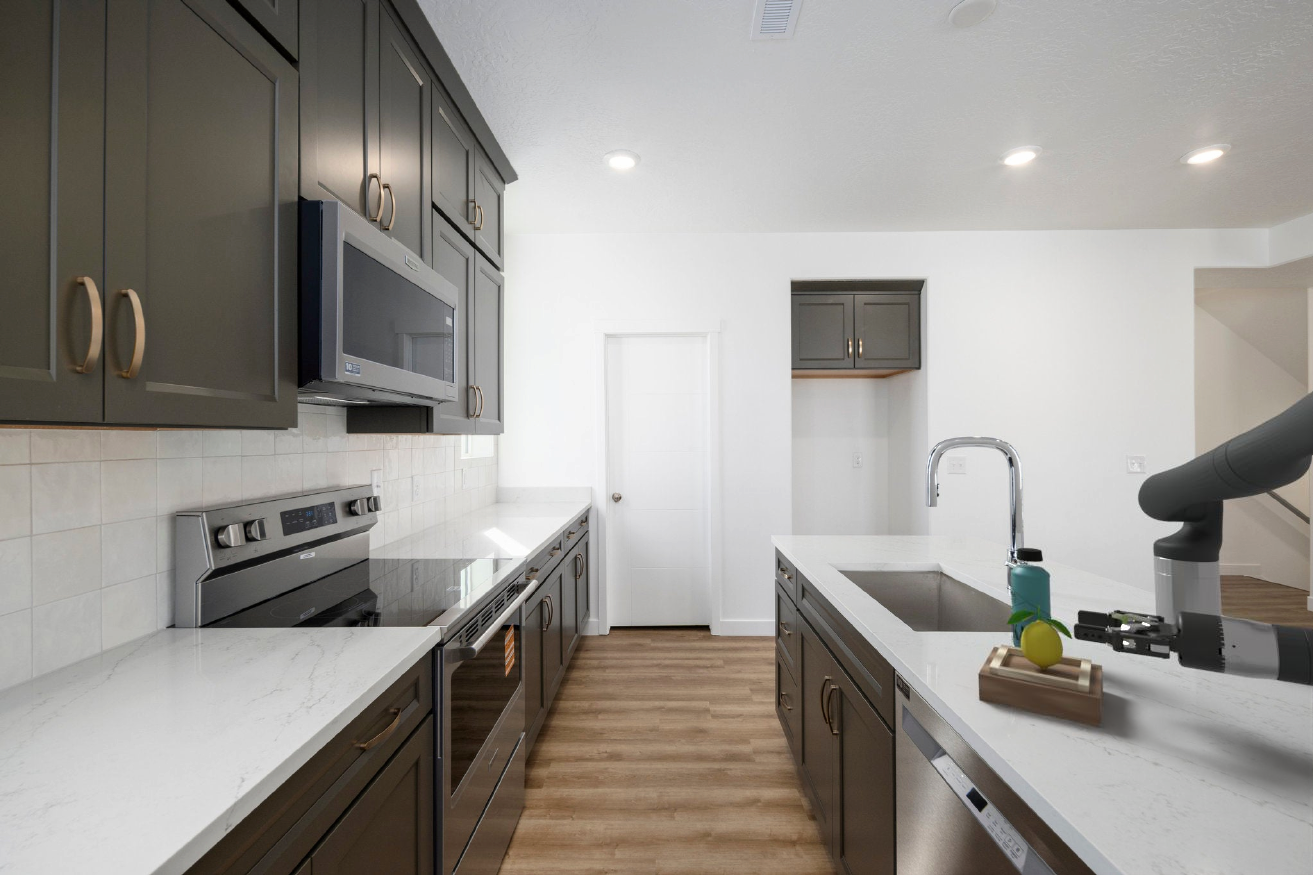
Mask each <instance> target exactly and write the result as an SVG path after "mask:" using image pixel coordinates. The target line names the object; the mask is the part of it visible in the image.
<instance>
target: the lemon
mask: <svg viewBox="0 0 1313 875" xmlns="http://www.w3.org/2000/svg"><path fill="white" fill-rule="evenodd" d="M1037 612H1038V616H1039V620H1037V621H1036V622H1032V623H1030V624H1029V625H1027V626H1026V628H1025V629H1024V631H1023V633H1022V637H1021V649H1022V652H1023V654H1024V656H1025V657H1026V658H1027V660H1028V661H1030V662H1031V663H1034V664H1036V665H1038V666H1039V667H1040V668H1041V669H1042V670H1046V669H1047V668H1048V667H1050V666H1054V665H1056V664H1058V663H1059V662H1060V660H1061V658H1062V655H1064V647H1063V642H1062V638H1061V636H1060V634H1059V632H1060V633H1062V635H1064V636H1066V637H1067V638H1069V639H1071V640H1073V637H1072V634H1071V632H1070V630H1069V629H1068V628H1067V626H1065V625H1064V624H1063V623H1062V622H1061V621H1059V620H1058V619H1057V620H1056V619H1054V618H1053V619H1052V618H1051V619H1046V618H1044V617H1042V616H1041V615H1040V606H1038V611H1037ZM1037 612H1031V611H1027V610H1022V611H1017V612H1016V613H1014V614H1013V615H1012V614H1011V616H1010V617H1009V618H1008V620H1007V622H1006V625H1012V624H1016V623H1019V622H1021V621H1023V620H1026V619H1028V618H1030V617H1031V616H1033V615H1034V614H1035V613H1037ZM1040 616H1041V617H1042V618H1044V619H1045V620H1046V621H1047V622H1048V623H1050V624H1051V625H1052V626H1051V625H1050V624H1048V623H1044V622H1043V621H1042V620H1041V618H1040ZM1057 630H1058V631H1059V632H1058V631H1057Z"/></svg>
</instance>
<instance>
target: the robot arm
mask: <svg viewBox="0 0 1313 875" xmlns="http://www.w3.org/2000/svg"><path fill="white" fill-rule="evenodd" d="M1312 459H1313V390H1312V391H1311V392H1309V393H1308V394H1306V395H1305V396H1304V397H1302V398H1301V399H1300V400H1298V401H1297V402H1295V403H1293V404H1292V405H1291V406H1289V407H1288V408H1287V409H1285V410H1284V411H1282V412H1280V413H1279V414H1277V415H1276V416H1273V417H1272V418H1270V419H1268V420H1266V421H1264V422H1262V423H1261V424H1259V425H1257V426H1255V427H1254V428H1251V429H1249V430H1247V431H1246V432H1243V433H1241V434H1238V435H1237V436H1235V437H1233V438H1230V439H1229V440H1227V441H1225V442H1223V443H1222V444H1220V445H1217V446H1216V447H1215V448H1213V449H1211V450H1209V451H1207V452H1204V453H1203V454H1200V455H1199V456H1197V457H1195V458H1193V459H1191V460H1189V461H1188V462H1186V463H1184V464H1180V465H1178V466H1175V467H1172V468H1170V469H1167V470H1165V471H1161V472H1158V473H1155V474H1152V475H1151V476H1149V477H1147V478H1146V479H1144V481H1143V483H1141V486H1140V488H1139V490H1138V494H1137V501H1138V505H1139V507H1140V510H1142V512H1143V513H1144V514H1145V515H1147V517H1149V518H1151V519H1153V520H1156V521H1160V522H1169V523H1183V524H1182V527H1181V528H1180V529H1179V530H1178V531H1176V532H1175V533H1173V534H1170V535H1168V536H1167V535H1166V536H1164V537H1161V538H1158V539H1156V540H1155V541H1154V542H1153V545H1152V546H1153V547H1152V548H1153V552H1152V553H1153V570H1154V571H1153V572H1154V592H1155V593H1154V596H1155V599H1154V600H1155V615H1154V614H1146V613H1140V612H1139V613H1138V612H1131V611H1125V610H1120V609H1115V610H1113V611H1109V612H1099V611H1098V612H1097V611H1090V610H1083V609H1079V610H1078V611H1077V623H1074V625H1073V636H1074V639H1076V640H1078V641H1079V640H1080V641H1084V642H1092V643H1098V644H1104V645H1107V646H1108V647H1110V648H1111V649H1112V650H1113V652H1118V653H1125V654H1131V655H1137V656H1145V657H1151V658H1159V659H1163V660H1169V659H1171V654H1170V653H1171V652H1175V653H1176V655H1177V661H1178V664H1179V665H1180V666H1181V667H1182V668H1183V667H1184V668H1186V669H1187V668H1189V669H1194V670H1200V671H1207V672H1213V673H1219V674H1223V675H1228V676H1229V675H1230V676H1237V677H1242V678H1248V679H1256V680H1257V679H1259V680H1271V681H1272V680H1273V681H1280V682H1284V683H1285V682H1286V683H1292V684H1299V685H1303V686H1304V685H1305V686H1309V687H1310V686H1311V687H1313V629H1312V628H1307V627H1300V626H1291V625H1282V624H1273V623H1272V624H1271V623H1267V622H1261V621H1258V620H1257V621H1256V620H1253V619H1247V618H1240V617H1232V616H1224V615H1223V614H1222V613H1223V612H1222V595H1221V594H1222V593H1221V591H1222V590H1221V575H1220V551H1221V549H1222V546H1223V540H1224V538H1223V537H1224V536H1223V535H1224V534H1223V529H1224V527H1223V525H1224V501H1227V500H1235V499H1242V498H1248V497H1254V496H1258V495H1263V494H1266V493H1269V492H1271V491H1274V490H1277V489H1279V488H1280V489H1281V488H1283V487H1286V486H1288V485H1290V484H1292V483H1294V482H1296V481H1298V480H1300V479H1301V478H1302V477H1303V476H1305V475H1306V473H1307V472H1308V471H1309V470H1310V467H1311V464H1312V463H1313V462H1312V461H1313V460H1312Z"/></svg>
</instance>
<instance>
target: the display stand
mask: <svg viewBox="0 0 1313 875" xmlns="http://www.w3.org/2000/svg"><path fill="white" fill-rule="evenodd" d="M977 675H978V677H977V678H978V700H980V701H983V702H986V703H987V702H988V703H992V704H996V705H1001V706H1005V707H1010V708H1013V709H1017V710H1018V709H1019V710H1023V711H1028V712H1032V713H1035V714H1036V713H1037V714H1040V715H1044V716H1049V717H1054V718H1058V719H1062V720H1067V721H1070V722H1071V721H1072V722H1075V723H1081V724H1085V725H1088V726H1092V727H1098V728H1102V720H1103V719H1102V718H1103V717H1102V716H1103V715H1102V714H1103V698H1104V695H1103V694H1104V684H1103V682H1104V681H1103V665H1102V664H1096V663H1092V659H1088V658H1082V657H1077V656H1071V655H1065V654H1063V655H1062V658H1061V660H1060V662H1059V663H1058V664H1056V665H1054V666H1050V667H1048V668H1047V669H1046V670H1042V669H1041V668H1040V667H1039V666H1038V665H1036V664H1034V663H1031V662H1030V661H1028V660H1027V658H1026V657H1025V656H1024V654H1023V652H1022V649H1021V648H1019V647H1015V646H1014V645H1013V646H1012V645H1007V644H1001V645H1000V646H998V647H997V646H993V647H992V649H991V651H990V654H988V657H987V658H986V660H985V662H984V663H983V665H982V666H981V669H980V670H979V672H978V673H977Z"/></svg>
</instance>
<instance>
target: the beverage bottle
mask: <svg viewBox="0 0 1313 875" xmlns="http://www.w3.org/2000/svg"><path fill="white" fill-rule="evenodd" d="M1016 560H1018V561H1021V562H1029V563H1030V562H1031V563H1040V562H1041V563H1042V562H1044V557H1043V551H1042V549H1040V548H1039V549H1038V548H1033V547H1020V548H1017V550H1016ZM1010 575H1011V577H1010V578H1011V579H1010V580H1011V581H1010V587H1011V588H1010V595H1011V596H1010V601H1011V612H1010V614H1011V616H1012V615H1013V614H1014V613H1016V612H1017V611H1022V610H1027V611H1031V612H1037V611H1038V606H1040V615H1041V616H1042V617H1044V618H1046V619H1052V618H1053V617H1052V611H1051V610H1052V609H1051V606H1052V605H1051V578H1050V577H1051V574H1050V573H1049V571H1048V570H1046V569H1045V568H1044V567H1042V566H1040V565H1039V566H1038V565H1035V564H1034V565H1031V564H1018V565H1016V566H1015V567H1013V568H1012V569H1011V570H1010ZM1041 616H1040V618H1041V620H1042V621H1043V622H1044V623H1048V622H1047V621H1046V620H1045V619H1044V618H1042V617H1041ZM1037 620H1039V616H1038V612H1037V613H1035V614H1034V615H1033V616H1031V617H1030V618H1028V619H1026V620H1023V621H1021V622H1019V623H1016V624H1011V631H1012V636H1011V639H1012V640H1011V641H1012V643H1013V647H1019V648H1021V637H1022V633H1023V631H1024V629H1025V628H1026V626H1027V625H1029V624H1030V623H1032V622H1036V621H1037ZM1048 624H1050V623H1048ZM1050 625H1051V624H1050ZM1051 626H1052V625H1051ZM1052 627H1053V626H1052Z"/></svg>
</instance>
